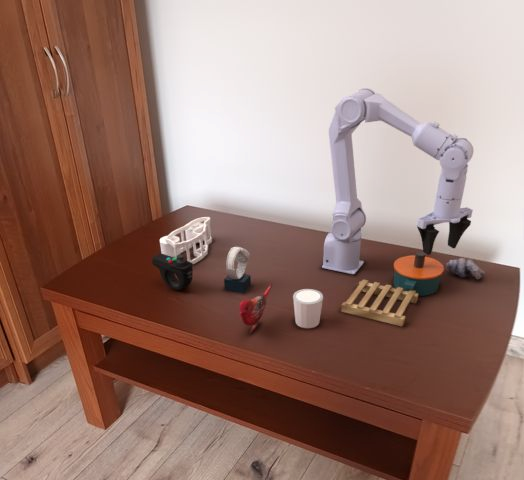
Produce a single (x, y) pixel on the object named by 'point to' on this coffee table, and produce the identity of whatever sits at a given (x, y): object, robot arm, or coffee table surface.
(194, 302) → the coffee table surface
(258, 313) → the decorative bird figurine
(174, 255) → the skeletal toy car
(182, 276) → the controller
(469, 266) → the seashell
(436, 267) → the lid
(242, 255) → the watch
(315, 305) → the white cup
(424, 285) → the pot
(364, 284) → the rack
